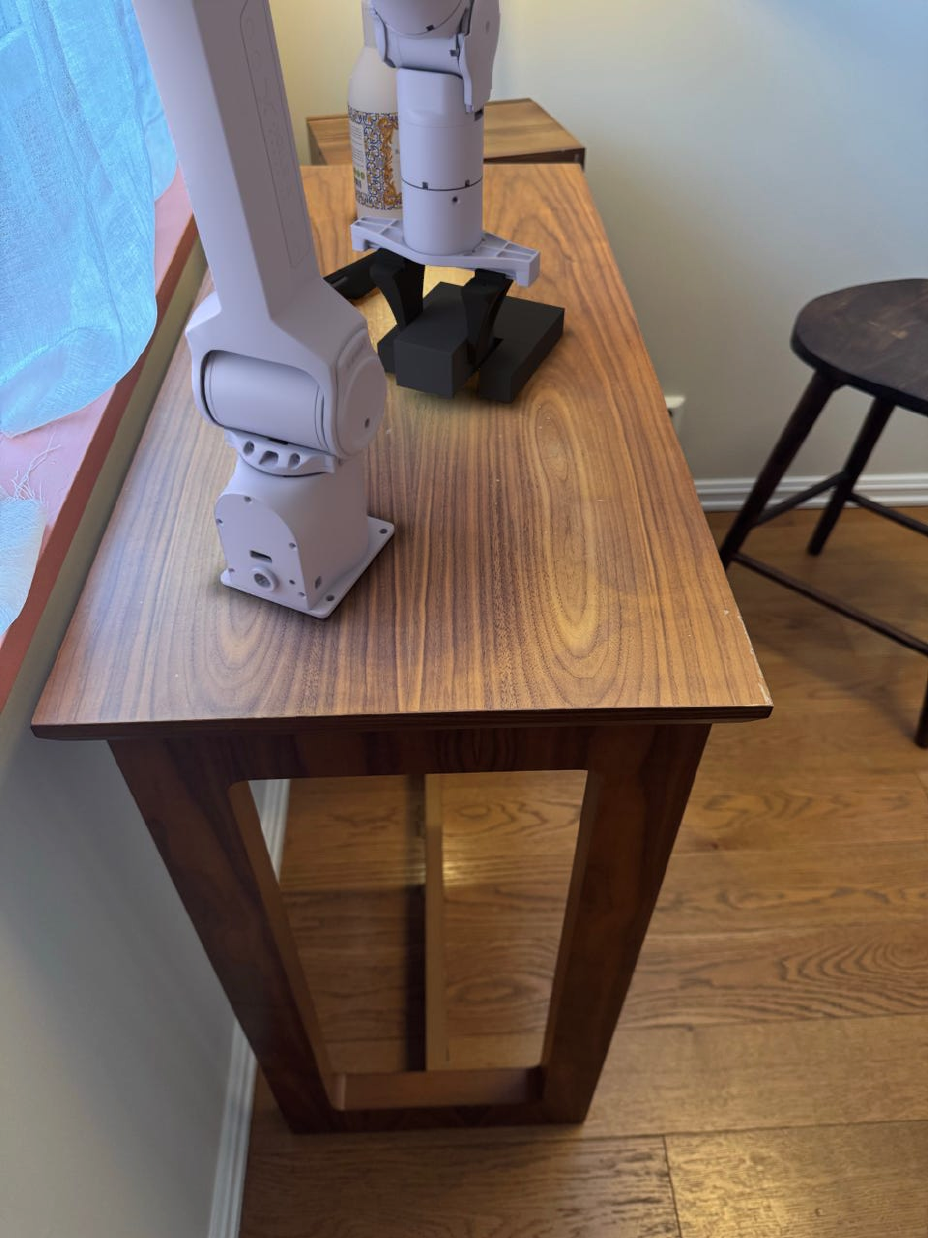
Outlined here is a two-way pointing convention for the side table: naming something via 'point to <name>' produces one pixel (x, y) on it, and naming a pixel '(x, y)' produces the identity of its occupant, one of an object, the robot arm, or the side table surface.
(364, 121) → the bath foam
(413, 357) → the rectangular block
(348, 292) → the electric trimmer
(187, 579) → the side table surface
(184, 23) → the robot arm
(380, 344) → the base pad
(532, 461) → the side table surface
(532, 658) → the side table surface
